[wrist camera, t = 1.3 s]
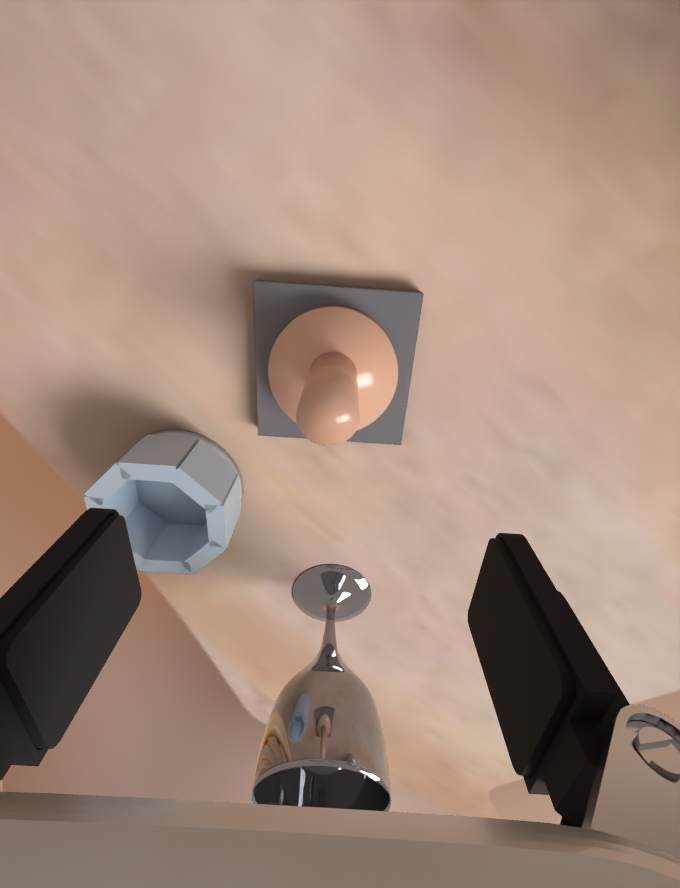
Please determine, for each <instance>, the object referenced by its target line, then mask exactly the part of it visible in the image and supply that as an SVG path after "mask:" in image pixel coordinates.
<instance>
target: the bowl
mask: <svg viewBox="0 0 680 888" xmlns="http://www.w3.org/2000/svg"><path fill="white" fill-rule="evenodd" d="M84 495H85V496H84V501H85V504H86V508H87V510H88V509H89V508H105V509H115V510H117V512H118V513H119V515H122V516H123V517H124V518H125V521H126V526H127V530H128V535H129V539H130V543H131V548H132V552H133V557H134V561H135V565H136V569H137V570H142V572H153V573H169V574H184V575H191V574H192V573H193V574H195V573H196V572H197V571H199V570H200V569H201V568H203V567H204V566H205V565H207V564H208V563H209V562H211V561H212V560H213V559H215V558H216V557H217V556H219V555H220V554H221V553H222V552H224V551H225V550H226V549H227V546H228V544H229V541H230V539H231V537H232V534H233V532H234V529H235V527H236V524H237V522H238V519H239V517H240V514H241V500H242V496H243V481H242V477H241V473H240V471H239V469H238V467H237V465H236V463H235V462H234V460H233V459H232V458H231V456H230V455H229V454H228V453H227V452H226V451H225V450H224V449H223V448H222V447H220V446H219V445H218V444H216V443H215V442H213V441H212V440H210V439H208V438H206V437H204V436H202V435H199V434H196V433H193V432H189V431H183V430H165V431H160V432H156V433H153V434H148V435H147V436H146V435H145V436H144V437H143V438H142V439H141V440H140V441H138V442H137V443H136V444H135V445H134V446H133V447H132V448H131V449H130V450H129V451H128V452H127V453H126V454H125V455H124V456H123V457H122V458H120V459H119V460H118V461H117V462H116V463H115V464H114V465H113V466H112V467H111V468H110V469H109V470H108V471H107V472H106V473H105V474H104V475H103V476H102V477H101V478H100V479H99V480H98V481H97V482H96V483H95V484H94V485H93V486H92V487H91V488H90V489H89V490H88V491H87V492H86V493H85V494H84Z"/></svg>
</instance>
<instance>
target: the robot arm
mask: <svg viewBox="0 0 680 888" xmlns="http://www.w3.org/2000/svg"><path fill="white" fill-rule="evenodd" d="M140 600H141V587H140V583H139V579H138V574H137V570H136V565H135V561H134V557H133V552H132V548H131V543H130V539H129V535H128V530H127V526H126V521H125V518H124V517H123V516H122V515H119V513H118V512H117V510H115V509H105V508H89V509H88V510H87V511H85V512H84V513H83V514H82V516H80V517H79V518H78V519H77V521H76V522H75V523H74V524H73V525H72V526H71V527H70V528H69V529H68V530H67V531H66V532H65V533H64V534H63V535H62V536H61V537H60V538H59V539H58V540H57V541H56V542H55V543H54V544H53V545H52V546H51V547H50V548H49V549H48V550H47V551H46V552H45V553H44V554H43V555H42V556H41V557H40V558H39V559H38V560H37V561H36V563H34V564H33V565H32V566H31V568H30V569H28V571H27V572H26V573H25V574H24V575H23V576H22V577H21V578H20V579H19V580H18V581H17V582H16V583H15V584H14V585H13V586H12V587H11V588H10V589H9V590H8V591H7V592H6V593H5V594H4V595H3V596H2V597H1V598H0V888H680V723H679V722H677V721H676V720H674V719H673V718H672V717H670V716H669V715H667V714H665V713H663V712H661V711H659V710H657V709H655V708H651V707H648V706H644V705H640V704H639V705H630V704H629V703H628V701H627V699H626V698H625V696H624V694H623V693H622V691H621V689H620V688H619V686H618V684H617V683H616V681H615V680H614V678H613V676H612V675H611V673H610V671H609V670H608V668H607V666H606V665H605V663H604V661H603V660H602V658H601V656H600V655H599V653H598V652H597V650H596V648H595V647H594V645H593V643H592V642H591V640H590V638H589V637H588V635H587V633H586V632H585V630H584V628H583V627H582V625H581V624H580V622H579V620H578V619H577V617H576V615H575V614H574V612H573V610H572V609H571V607H570V605H569V604H568V602H567V600H566V599H565V597H564V596H563V595H562V594H561V593H560V592H559V591H557V590H556V588H555V586H554V585H553V583H552V581H551V580H550V578H549V576H548V575H547V573H546V571H545V570H544V568H543V566H542V565H541V563H540V561H539V560H538V558H537V556H536V554H535V553H534V551H533V549H532V548H531V546H530V544H529V543H528V541H527V539H526V538H525V537H524V536H523V535H521V534H507V533H499V534H498V535H497V536H496V538H491V539H490V540H489V542H488V546H487V549H486V553H485V556H484V559H483V563H482V566H481V569H480V573H479V576H478V580H477V583H476V586H475V590H474V593H473V597H472V600H471V603H470V607H469V610H468V624H469V628H470V631H471V634H472V637H473V640H474V644H475V647H476V650H477V653H478V656H479V660H480V663H481V666H482V669H483V672H484V676H485V679H486V682H487V685H488V688H489V692H490V695H491V698H492V701H493V704H494V708H495V711H496V714H497V717H498V720H499V724H500V727H501V730H502V733H503V736H504V740H505V743H506V746H507V749H508V752H509V756H510V759H511V762H512V765H513V768H514V770H515V772H516V773H517V774H518V775H523V777H524V780H525V783H526V786H527V789H528V792H529V794H544V795H550V798H551V800H552V803H553V806H554V809H555V811H556V812H557V813H558V816H557V819H556V822H555V824H551V823H541V822H529V821H517V820H505V819H492V818H480V817H468V816H453V815H435V814H420V813H403V812H387V811H370V810H354V809H338V808H320V807H302V806H284V805H266V804H248V803H230V802H211V801H192V800H174V799H153V798H134V797H113V796H93V795H73V794H53V793H22V792H3V789H2V779H3V777H4V776H5V774H6V773H7V771H8V769H9V768H10V766H11V765H25V766H39V764H40V762H41V761H42V759H43V757H44V756H45V754H46V752H47V751H48V749H52V748H54V747H55V746H56V745H57V744H58V743H59V741H60V740H61V738H62V737H63V735H64V733H65V731H66V730H67V728H68V726H69V725H70V723H71V721H72V720H73V718H74V716H75V714H76V712H77V711H78V709H79V707H80V706H81V704H82V702H83V701H84V699H85V697H86V695H87V694H88V692H89V690H90V689H91V687H92V685H93V683H94V682H95V680H96V678H97V676H98V675H99V673H100V671H101V669H102V668H103V666H104V664H105V663H106V661H107V659H108V657H109V656H110V654H111V652H112V650H113V649H114V647H115V645H116V643H117V642H118V640H119V638H120V637H121V635H122V633H123V631H124V630H125V628H126V626H127V625H128V623H129V621H130V620H131V618H132V616H133V614H134V612H135V611H136V609H137V607H138V605H139V603H140Z"/></svg>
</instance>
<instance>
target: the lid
mask: <svg viewBox="0 0 680 888" xmlns="http://www.w3.org/2000/svg"><path fill="white" fill-rule="evenodd" d="M268 377H269V383H270V388H271V391H272V393H273V396H274V398H275V400H276V402H277V403H278V405H279V406H280V408H281V409H282V410H283V412H284V413H285V414H286V415H287V416H288V417H289V418H290V419H292V420H293V421H294V422H296V423H297V425H298V427H299V429H300V431H301V432H302V434H303V435H304V436H305V437H306V438H307V439H309V440H310V441H312V442H314V443H316V444H319V445H324V446H334V445H338V444H341V443H343V442H345V441H347V440H348V439H349V438H351V437H352V436H353V434H354V433H355V432H356V431H357V430H360V429H362V428H364V427H366V426H368V425H369V424H371V423H372V422H374V421H375V420H376V419H377V418H378V417H379V416H380V415H381V414H382V413H383V412H384V411H385V410H386V408H387V407H388V405H389V404H390V402H391V400H392V398H393V396H394V393H395V390H396V386H397V381H398V363H397V358H396V354H395V352H394V349H393V346H392V344H391V342H390V340H389V338H388V336H387V334H386V333H385V332H384V330H383V329H382V328H381V327H380V326H379V324H378V323H377V322H375V321H374V320H373V319H372V318H371V317H369V316H368V315H366V314H364V313H363V312H360V311H358V310H356V309H353V308H349V307H345V306H338V305H328V306H320V307H317V308H313V309H310V310H308V311H306V312H304V313H302V314H300V315H299V316H297V317H296V318H295V319H293V320H292V321H291V322H290V323H289V324H288V325H287V326H286V327H285V328H284V330H283V331H282V332H281V334H280V335H279V337H278V338H277V339H276V341H275V343H274V345H273V348H272V351H271V354H270V358H269V363H268Z"/></svg>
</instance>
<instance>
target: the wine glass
mask: <svg viewBox="0 0 680 888" xmlns="http://www.w3.org/2000/svg"><path fill="white" fill-rule="evenodd" d="M292 594H293V599H294V601H295V603H296V605H297V606H298V608H299V609H300V610H301V611H302V612H304V613H305V614H307V615H308V616H310V617H312V618H315V619H318V620H322V621H326V624H325V631H324V636H323V641H322V645H321V648H320V651H319V653H318V654H317V656H316V658H315V659H314V660H313V661H312V662H311V663H310V664H309V665H307V666H306V667H305V668H304V669H302V670H301V671H300V672H299V673H297V674H296V675H295V676H294V677H293V678H292V679H291V680H290V681H289V682H288V683H287V684H286V685H285V686H284V688H283V689H282V691H281V692H280V694H279V696H278V698H277V700H276V702H275V705H274V707H273V710H272V712H271V715H270V717H269V720H268V723H267V727H266V730H265V734H264V737H263V740H262V743H261V747H260V752H259V757H258V761H257V766H256V771H255V777H254V783H253V790H252V801H253V804H266V805H284V806H302V807H320V808H338V809H354V810H370V811H387V812H388V811H389V808H390V805H391V796H390V779H389V767H388V758H387V749H386V743H385V738H384V733H383V728H382V724H381V720H380V717H379V713H378V710H377V707H376V704H375V701H374V699H373V696H372V694H371V692H370V691H369V689H368V688H367V687H366V685H365V684H364V683H363V681H362V680H361V679H360V678H359V677H358V676H357V675H356V674H355V673H354V672H353V671H352V670H351V669H350V668H349V667H348V666H347V665H346V664H345V663H344V662H343V660H342V659H341V657H340V655H339V653H338V649H337V643H336V634H335V622H339V621H345V620H348V619H351V618H353V617H356V616H357V615H359V614H360V613H362V612H363V611H364V610H365V609H366V607H367V606H368V604H369V602H370V599H371V589H370V585H369V584H368V582H367V580H366V579H365V578H364V577H363V576H362V575H361V574H360V573H358V572H357V571H355V570H353V569H351V568H348V567H345V566H341V565H333V564H329V565H320V566H316V567H313V568H310V569H309V570H307V571H305V572H304V573H302V574H301V575H300V576H299V577H298V578H297V580H296V581H295V583H294V586H293V592H292Z"/></svg>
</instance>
